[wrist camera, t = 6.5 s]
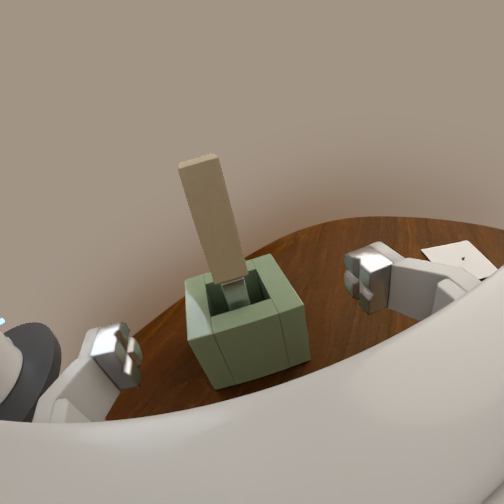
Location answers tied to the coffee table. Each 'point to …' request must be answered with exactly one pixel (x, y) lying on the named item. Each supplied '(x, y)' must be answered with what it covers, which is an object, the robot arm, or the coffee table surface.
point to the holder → (246, 326)
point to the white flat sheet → (461, 258)
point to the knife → (216, 226)
